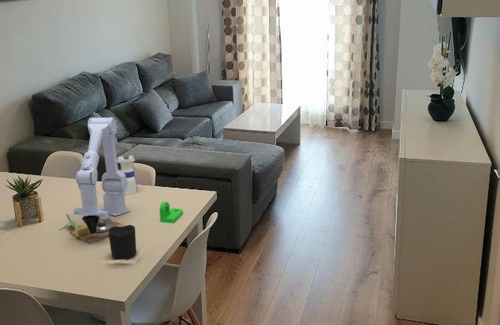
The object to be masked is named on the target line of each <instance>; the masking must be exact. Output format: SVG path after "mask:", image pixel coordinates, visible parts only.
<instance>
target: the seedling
mask: <svg viewBox="0 0 500 325" xmlns="http://www.w3.org/2000/svg"><path fill="white" fill-rule="evenodd" d="M66 218H67V220H68V221H69V223H67V224H65V226H64V227H62V228H60V229H59V231H61V230H62V229H64V228H66V227H67V226H68V225H69V224H71V226H72V227H73V228H74V229H76V228H77V226H78V224H77V222H75V220H73V219H71V217H70V216H69V214H68V213H66Z"/></svg>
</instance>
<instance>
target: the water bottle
mask: <svg viewBox="0 0 500 325" xmlns="http://www.w3.org/2000/svg"><path fill="white" fill-rule="evenodd" d="M132 146H133V145H130V143H129V142H128V144H127V145H125V147H126V150H132ZM134 162H136V159H135V157H134V156H133V155H129V157H128V159H127V158H124V156H122V155H119V156H118V157H117V164H120V168H119V170H120V171H121V172H123V173H125V175H126V179H127V182H128V187H127V190H126V191H125V192H124V196H133V195H136V194H137V193H138V186H137V179H136V178H137V177H136V175H135V170H136V168H135V167H134Z"/></svg>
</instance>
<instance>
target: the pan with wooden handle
mask: <svg viewBox="0 0 500 325" xmlns="http://www.w3.org/2000/svg"><path fill="white" fill-rule="evenodd" d="M81 226H82V225H81ZM111 227H114V222H112V221H105V218H101V219H100V218H99V221H98V224H97V229H96V233H99V232H106V231H108V230H109V229H110V228H111ZM74 230H75V235H76V236H78V237H79V236H82V235H85V234H88V233H90V231H89V229H88V227H87V225H86V224H85V225H83V226H82V227H79V228H77V227H76V228H74Z"/></svg>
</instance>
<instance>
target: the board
mask: <svg viewBox="0 0 500 325" xmlns="http://www.w3.org/2000/svg"><path fill="white" fill-rule="evenodd" d="M104 220H105V221H112V222H114V226H118V227H124V226H127V225H125V224H123V223H120V222H118V221H116V220H113V219H111V218H109V217H107V218H104ZM79 227H82V224H79V225H78V224H77V226H76V228H79ZM69 234H70V235H71V236H73V237H76V238H78V239H80V240H82V241H84V242H86V243H88V244H90V245H91V244H94V243H96V242H99V241H102V240H104V239H108V238H109V233H108V231H106V232H99V233H94V234H90V233H88V234H85V235H82V236H79V237H78V236H76V235H75V229H73V230H70V231H69Z"/></svg>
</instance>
